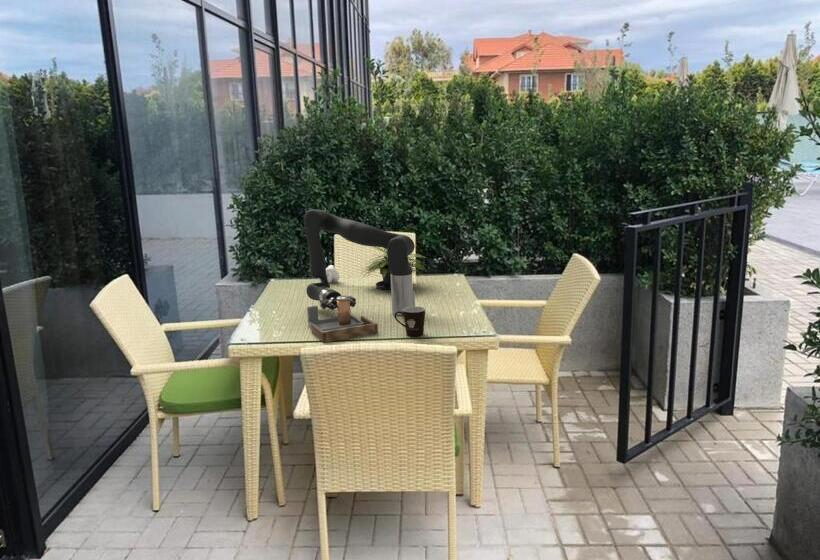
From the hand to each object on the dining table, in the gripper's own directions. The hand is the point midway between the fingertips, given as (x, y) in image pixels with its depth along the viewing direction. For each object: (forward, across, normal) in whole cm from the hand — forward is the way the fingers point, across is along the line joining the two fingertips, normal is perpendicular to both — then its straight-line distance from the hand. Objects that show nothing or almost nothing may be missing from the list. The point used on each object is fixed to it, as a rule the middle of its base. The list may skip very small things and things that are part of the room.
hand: (343, 306), depth 255 cm
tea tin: (0, 0, +7) cm, 7 cm away
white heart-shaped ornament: (-84, +21, +9) cm, 87 cm away
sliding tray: (0, -3, +8) cm, 9 cm away
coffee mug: (+24, +18, +8) cm, 32 cm away
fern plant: (-54, +47, +9) cm, 72 cm away
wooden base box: (+9, -4, +8) cm, 13 cm away
